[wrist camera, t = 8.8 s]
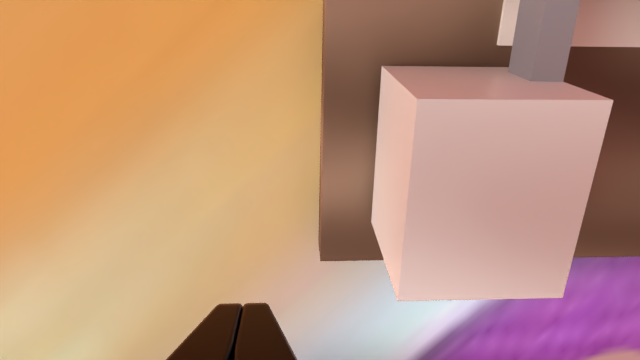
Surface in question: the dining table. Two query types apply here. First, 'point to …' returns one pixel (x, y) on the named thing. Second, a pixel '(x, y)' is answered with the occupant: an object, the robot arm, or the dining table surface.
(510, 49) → the gauge board
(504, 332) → the dining table surface
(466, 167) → the pink rectangular block
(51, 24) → the dining table surface
